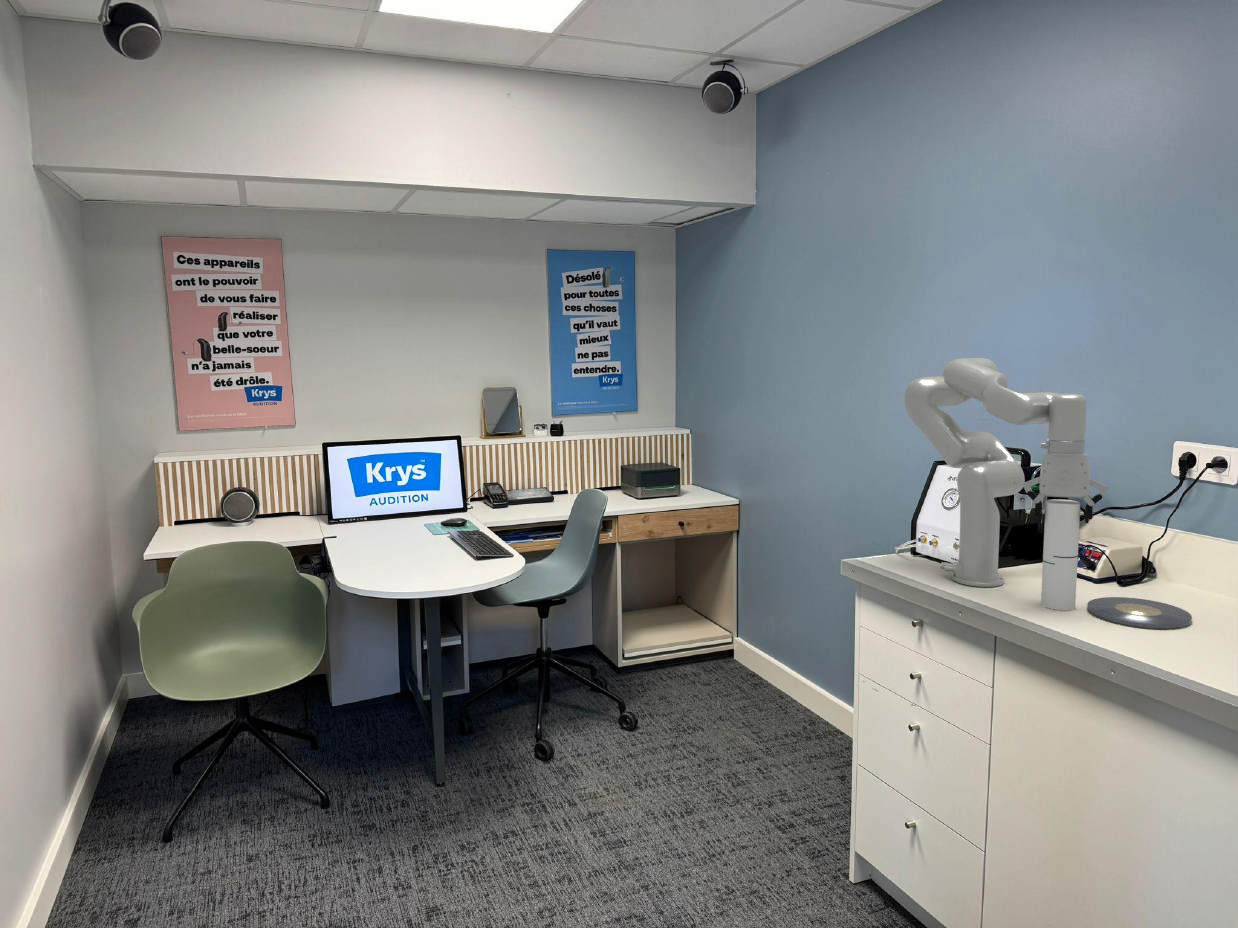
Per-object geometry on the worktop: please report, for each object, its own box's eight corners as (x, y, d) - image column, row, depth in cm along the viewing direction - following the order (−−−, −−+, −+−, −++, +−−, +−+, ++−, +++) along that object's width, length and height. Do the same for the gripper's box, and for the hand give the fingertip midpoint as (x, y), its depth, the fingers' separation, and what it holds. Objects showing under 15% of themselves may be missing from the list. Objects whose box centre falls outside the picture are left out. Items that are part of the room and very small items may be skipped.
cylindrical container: (1072, 612, 188) (1078, 505, 184) (1038, 607, 192) (1043, 503, 189) (1077, 604, 193) (1082, 501, 190) (1044, 599, 198) (1048, 498, 194)
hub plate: (1087, 621, 181) (1087, 616, 181) (1086, 597, 198) (1086, 592, 198) (1196, 634, 171) (1197, 628, 171) (1186, 608, 189) (1186, 603, 188)
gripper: (1023, 448, 189) (1020, 520, 191) (1110, 450, 180) (1106, 526, 182) (1025, 445, 195) (1022, 515, 197) (1109, 447, 187) (1105, 520, 189)
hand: (1062, 520), depth 190 cm, fingers open, 9 cm apart
